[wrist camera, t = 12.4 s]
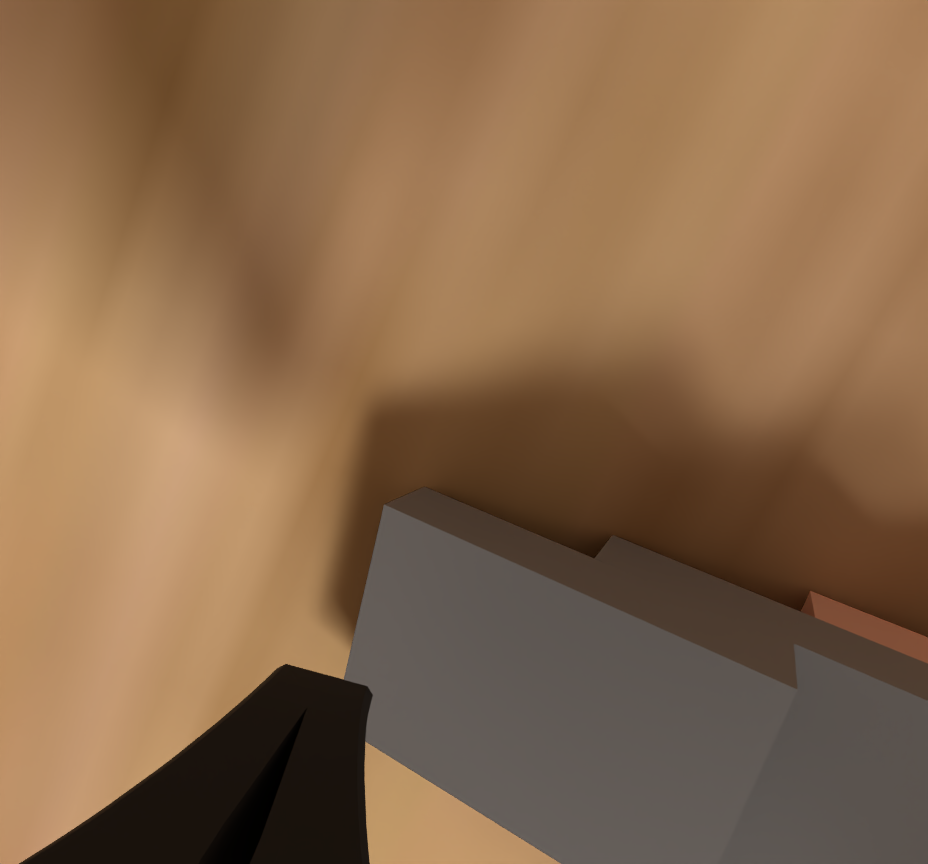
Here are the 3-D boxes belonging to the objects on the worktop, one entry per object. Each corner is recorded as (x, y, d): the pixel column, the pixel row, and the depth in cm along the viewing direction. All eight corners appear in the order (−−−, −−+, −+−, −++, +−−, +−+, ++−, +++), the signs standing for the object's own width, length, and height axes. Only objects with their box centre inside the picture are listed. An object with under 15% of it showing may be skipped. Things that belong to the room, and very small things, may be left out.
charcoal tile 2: (612, 534, 13) (1028, 704, 10) (545, 727, 14) (901, 922, 11) (594, 558, 11) (1068, 761, 9) (522, 770, 13) (919, 1000, 10)
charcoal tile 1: (424, 486, 13) (793, 643, 10) (375, 684, 14) (693, 869, 11) (384, 504, 11) (797, 689, 9) (334, 721, 13) (683, 939, 10)
